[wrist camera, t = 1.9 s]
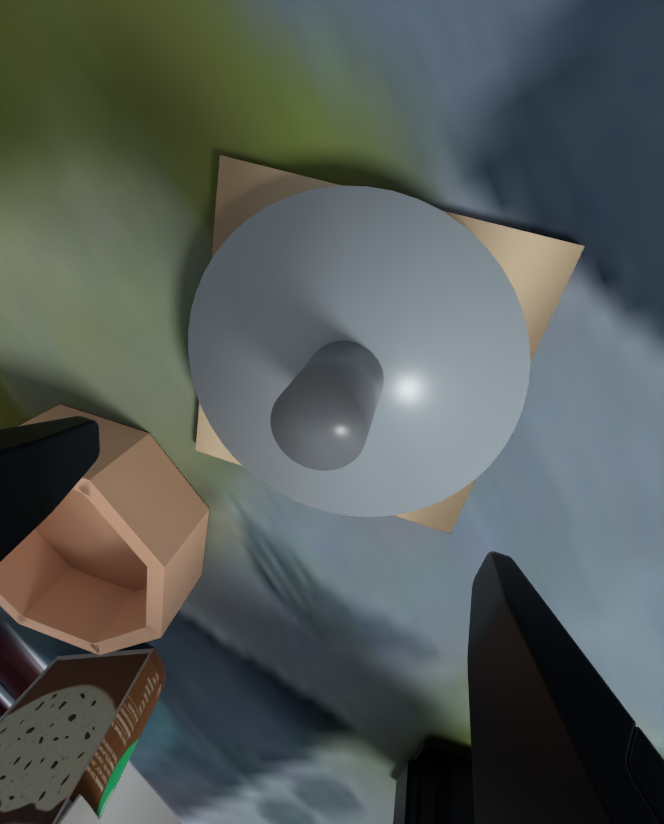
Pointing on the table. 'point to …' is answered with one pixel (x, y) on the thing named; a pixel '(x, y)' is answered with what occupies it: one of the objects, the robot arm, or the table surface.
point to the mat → (513, 249)
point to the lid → (359, 351)
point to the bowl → (110, 548)
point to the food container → (75, 735)
